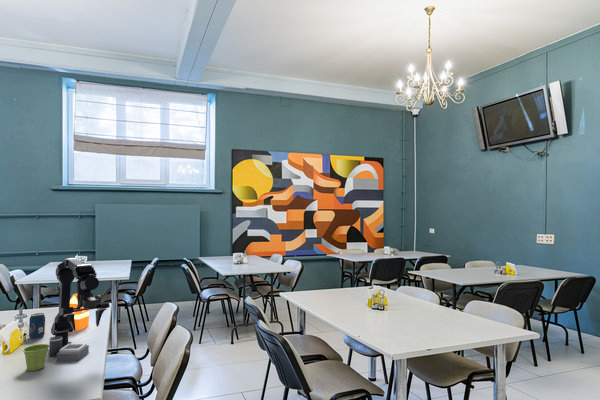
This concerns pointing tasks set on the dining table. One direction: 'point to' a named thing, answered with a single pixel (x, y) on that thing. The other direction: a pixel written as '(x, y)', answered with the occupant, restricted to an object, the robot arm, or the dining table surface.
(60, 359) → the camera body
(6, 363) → the dining table surface
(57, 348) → the lens
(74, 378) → the dining table surface
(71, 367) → the dining table surface
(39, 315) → the soda can
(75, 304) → the orange juice
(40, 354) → the plant pot
